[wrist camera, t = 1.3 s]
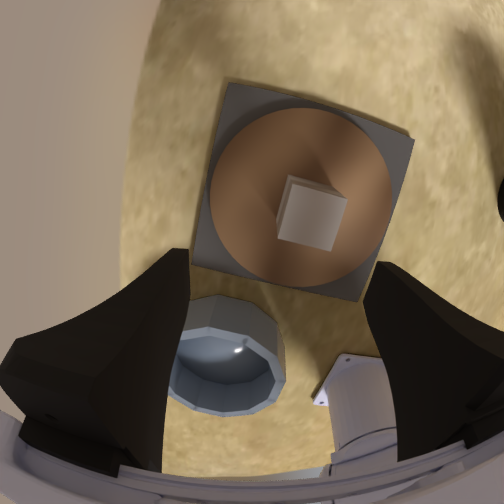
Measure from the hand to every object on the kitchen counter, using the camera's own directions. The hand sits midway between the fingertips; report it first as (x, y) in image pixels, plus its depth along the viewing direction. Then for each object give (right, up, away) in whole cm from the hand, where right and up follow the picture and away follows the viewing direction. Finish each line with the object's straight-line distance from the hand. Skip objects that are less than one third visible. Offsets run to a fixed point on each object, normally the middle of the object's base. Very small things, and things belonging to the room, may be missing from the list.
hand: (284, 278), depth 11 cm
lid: (+2, +5, +10) cm, 11 cm away
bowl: (-4, -8, +16) cm, 18 cm away
